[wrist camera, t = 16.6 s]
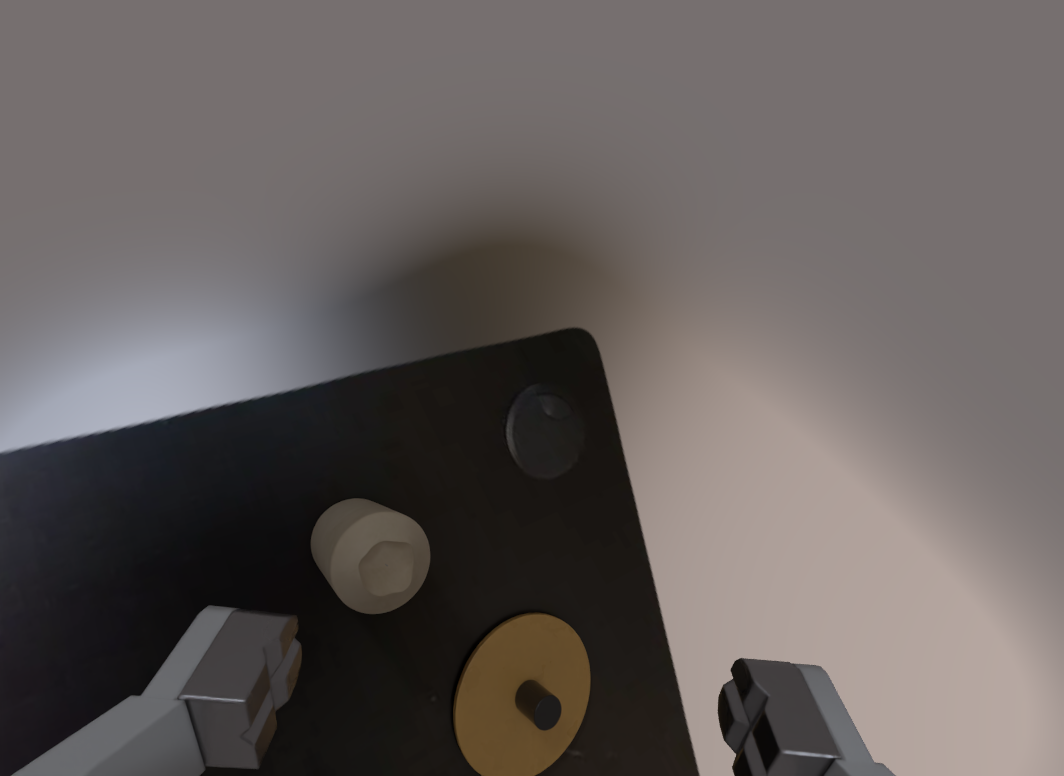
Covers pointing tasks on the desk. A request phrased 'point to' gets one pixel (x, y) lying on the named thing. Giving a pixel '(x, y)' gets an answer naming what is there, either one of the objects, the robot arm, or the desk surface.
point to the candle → (370, 555)
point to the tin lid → (521, 696)
